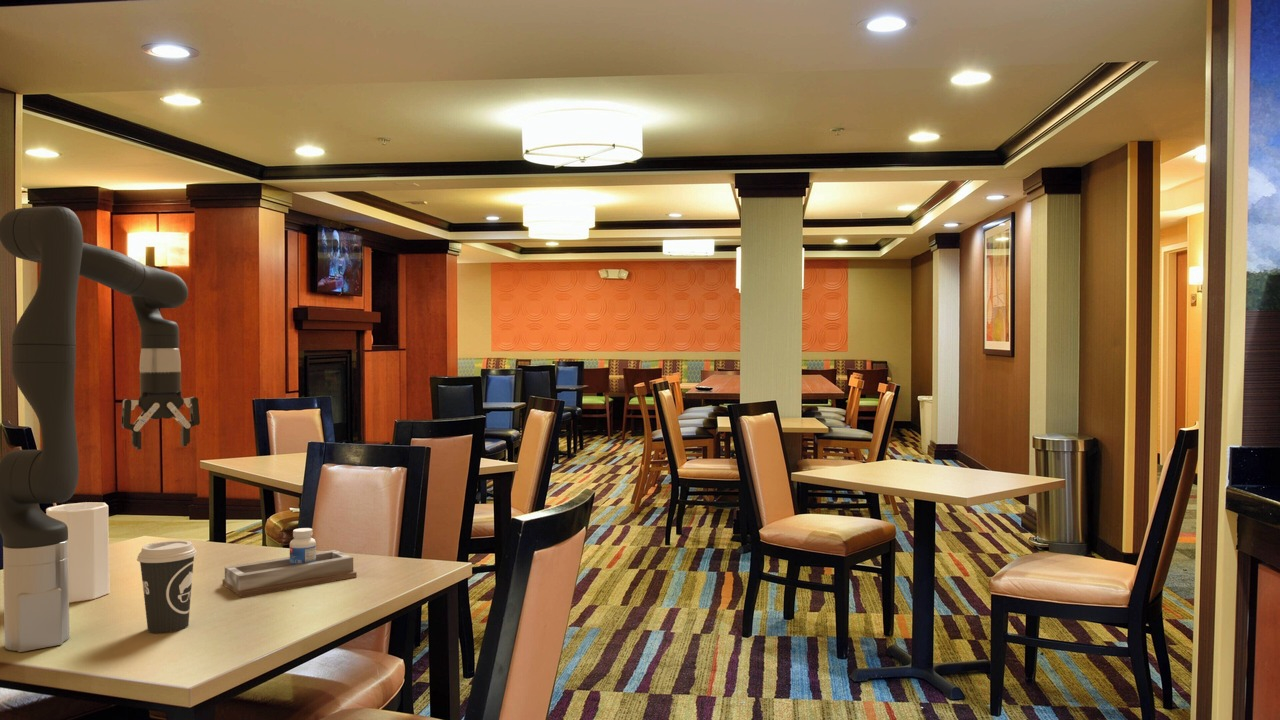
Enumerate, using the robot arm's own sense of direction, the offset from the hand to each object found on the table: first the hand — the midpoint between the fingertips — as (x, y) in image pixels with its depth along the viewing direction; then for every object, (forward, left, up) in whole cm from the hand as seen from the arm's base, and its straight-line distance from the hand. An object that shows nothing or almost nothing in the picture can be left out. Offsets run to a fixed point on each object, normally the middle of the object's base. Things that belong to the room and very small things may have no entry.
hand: (161, 447), depth 183 cm
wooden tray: (-9, -23, -30) cm, 39 cm away
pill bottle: (-9, -26, -29) cm, 40 cm away
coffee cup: (-28, +5, -30) cm, 42 cm away
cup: (+8, +14, -30) cm, 34 cm away
